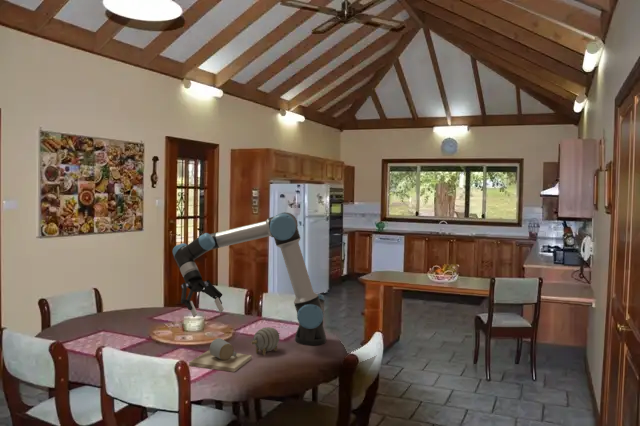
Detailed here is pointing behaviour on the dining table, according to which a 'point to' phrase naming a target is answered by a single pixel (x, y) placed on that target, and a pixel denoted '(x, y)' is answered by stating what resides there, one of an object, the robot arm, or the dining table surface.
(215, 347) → the ceramic mug
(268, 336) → the toy sheep
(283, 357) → the dining table surface
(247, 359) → the birch board
